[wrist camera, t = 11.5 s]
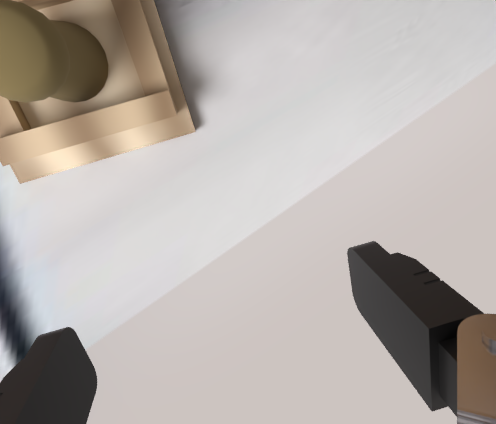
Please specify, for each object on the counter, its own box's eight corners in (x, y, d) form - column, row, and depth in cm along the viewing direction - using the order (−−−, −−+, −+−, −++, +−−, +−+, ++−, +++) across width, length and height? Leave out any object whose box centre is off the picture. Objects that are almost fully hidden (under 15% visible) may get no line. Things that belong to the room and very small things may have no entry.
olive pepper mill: (35, 102, 29) (-48, 111, 18) (20, 19, 26) (-83, -23, 16) (112, 103, 30) (74, 112, 19) (103, 22, 27) (56, -14, 17)
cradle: (129, -76, 26) (120, -102, 23) (195, 130, 32) (196, 136, 29) (-83, -22, 25) (-129, -40, 22) (24, 180, 31) (3, 193, 28)
